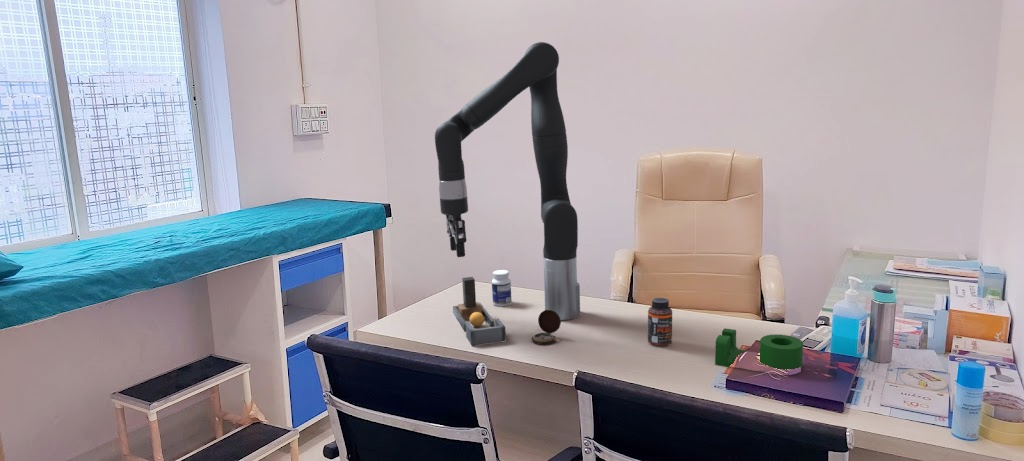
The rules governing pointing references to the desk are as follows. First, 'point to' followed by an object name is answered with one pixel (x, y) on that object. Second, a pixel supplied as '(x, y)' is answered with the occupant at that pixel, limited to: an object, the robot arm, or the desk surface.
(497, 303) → the pill bottle
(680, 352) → the desk surface
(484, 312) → the track
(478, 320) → the ball
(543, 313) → the compass
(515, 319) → the desk surface
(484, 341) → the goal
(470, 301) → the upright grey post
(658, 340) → the supplement bottle
